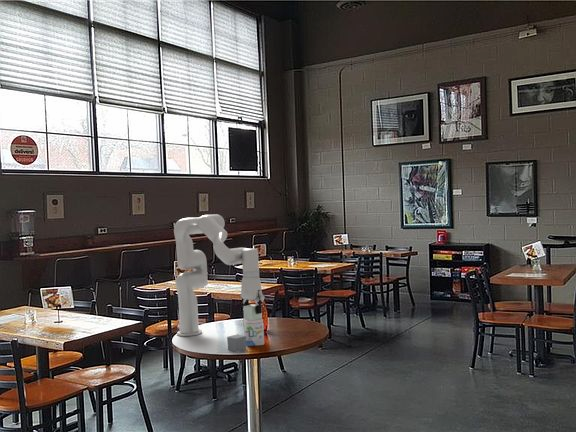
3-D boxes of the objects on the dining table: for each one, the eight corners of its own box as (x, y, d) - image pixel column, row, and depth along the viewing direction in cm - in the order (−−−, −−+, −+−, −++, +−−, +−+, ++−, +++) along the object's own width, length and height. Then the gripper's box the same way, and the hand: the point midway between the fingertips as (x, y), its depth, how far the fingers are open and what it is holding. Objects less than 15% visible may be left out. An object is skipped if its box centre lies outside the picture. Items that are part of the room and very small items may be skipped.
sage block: (243, 319, 268) (243, 306, 268) (253, 316, 272) (253, 304, 272) (252, 320, 264) (251, 307, 264) (262, 318, 268) (261, 305, 268)
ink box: (246, 346, 263) (245, 321, 263) (244, 342, 271) (243, 317, 271) (264, 344, 265) (263, 319, 264) (262, 340, 273) (261, 316, 273)
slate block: (227, 350, 258) (227, 336, 258) (238, 347, 262) (237, 334, 262) (236, 352, 254) (235, 338, 254) (246, 349, 258) (245, 336, 258)
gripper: (233, 274, 271) (234, 312, 271) (257, 277, 259) (259, 316, 259) (245, 273, 276) (247, 309, 277) (269, 275, 264) (271, 313, 264)
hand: (252, 312), depth 268 cm, fingers open, 7 cm apart
